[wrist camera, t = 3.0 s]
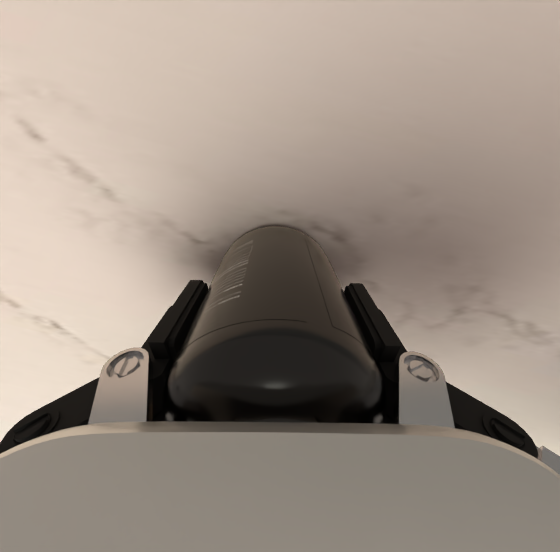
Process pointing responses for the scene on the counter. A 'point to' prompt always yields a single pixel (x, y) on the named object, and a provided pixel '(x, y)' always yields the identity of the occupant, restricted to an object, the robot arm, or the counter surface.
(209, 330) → the supplement bottle
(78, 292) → the counter surface
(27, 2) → the counter surface
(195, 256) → the counter surface
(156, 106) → the counter surface
